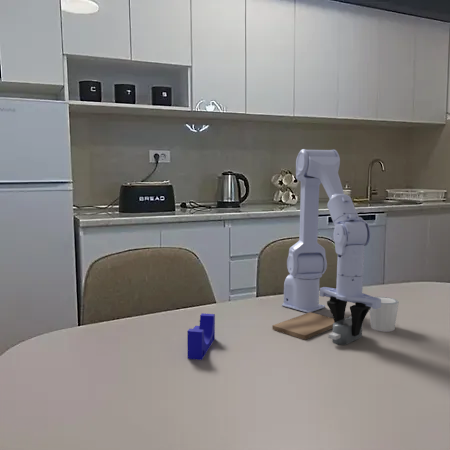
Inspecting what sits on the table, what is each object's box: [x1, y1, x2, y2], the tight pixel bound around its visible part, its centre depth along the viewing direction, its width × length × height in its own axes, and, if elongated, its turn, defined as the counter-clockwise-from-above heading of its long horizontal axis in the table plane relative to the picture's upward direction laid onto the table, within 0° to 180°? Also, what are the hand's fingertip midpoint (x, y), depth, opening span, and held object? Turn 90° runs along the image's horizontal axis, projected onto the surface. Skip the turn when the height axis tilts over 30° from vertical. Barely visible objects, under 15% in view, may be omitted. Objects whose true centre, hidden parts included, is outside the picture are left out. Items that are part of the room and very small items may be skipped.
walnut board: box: [271, 312, 335, 341], centre depth 113 cm, size 10×16×1 cm, turn 134°
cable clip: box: [187, 312, 216, 361], centre depth 99 cm, size 12×4×6 cm, turn 169°
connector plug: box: [327, 316, 364, 346], centre depth 105 cm, size 4×11×4 cm, turn 134°
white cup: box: [369, 296, 399, 333], centre depth 113 cm, size 7×7×7 cm
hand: (347, 332), depth 105 cm, fingers closed on connector plug, 3 cm apart
